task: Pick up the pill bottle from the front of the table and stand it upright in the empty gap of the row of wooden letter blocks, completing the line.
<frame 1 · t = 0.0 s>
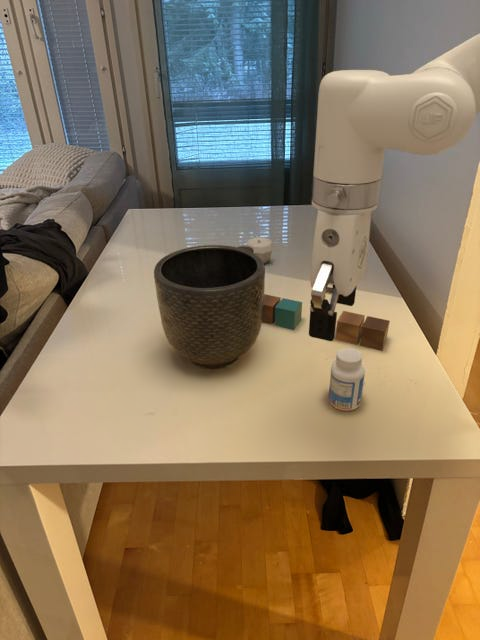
hand: (332, 319, 62), 21 cm above the table, tool pointing down, fingers open, 9 cm apart
planter: (214, 354, 92), on the table
block c: (287, 322, 102), on the table
block d: (266, 317, 104), on the table
white pillar candle: (259, 262, 130), on the table
block a: (373, 342, 95), on the table
supplement bottle: (244, 296, 113), on the table
block b: (348, 336, 97), on the table
pill bottle: (343, 401, 80), on the table
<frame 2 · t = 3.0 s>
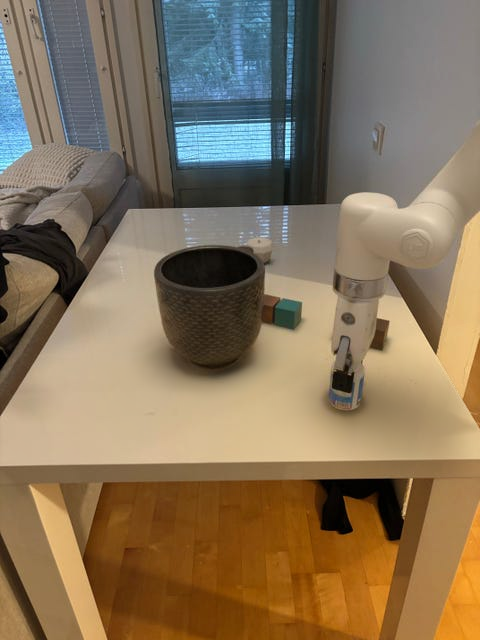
hand: (346, 378, 77), 5 cm above the table, tool pointing down, fingers closed on pill bottle, 5 cm apart
pill bottle: (343, 401, 80), on the table, touching gripper
everything else where it was.
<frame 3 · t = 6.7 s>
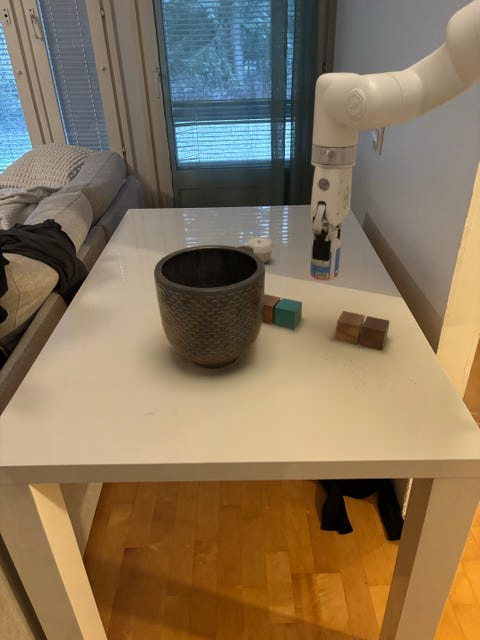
hand: (325, 252, 89), 18 cm above the table, tool pointing down, fingers closed on pill bottle, 5 cm apart
pill bottle: (323, 276, 91), point 13 cm above the table, touching gripper
everything else where it was.
when the fingers open (5 cm above the table, at t = 10.6 s): pill bottle stays where it is, on the table.
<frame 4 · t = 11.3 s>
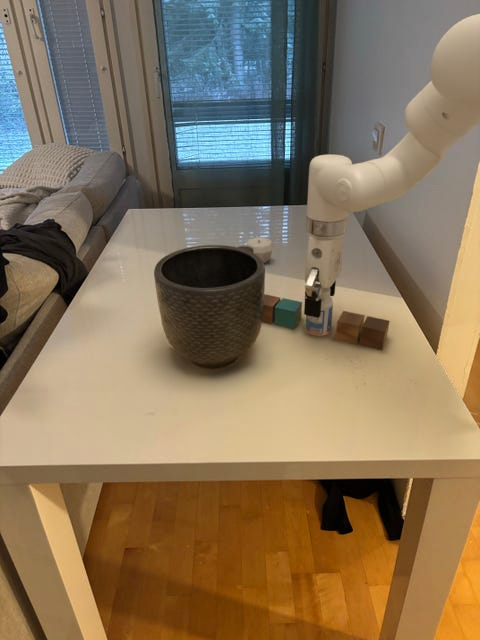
hand: (319, 304, 96), 6 cm above the table, tool pointing down, fingers open, 9 cm apart
pill bottle: (317, 330, 99), on the table
everything else where it was.
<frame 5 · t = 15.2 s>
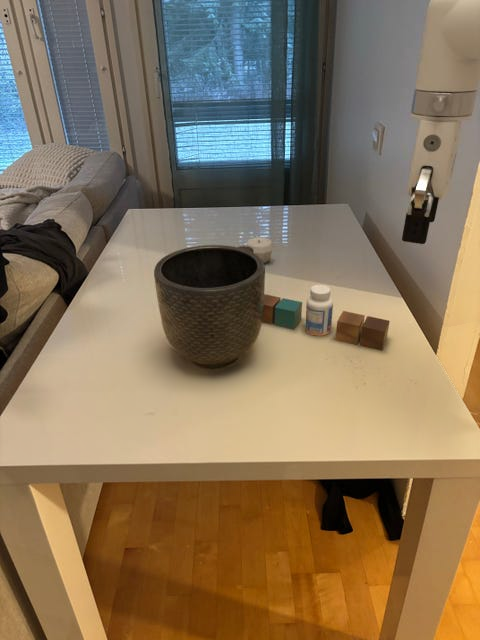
hand: (418, 230, 69), 28 cm above the table, tool pointing down, fingers open, 9 cm apart
nothing on the table moved.
at the end: pill bottle 0.1 cm from the target spot on the table beside the block b, on the table; pill bottle tilted 0°; block c moved 0.0 cm from its start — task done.
